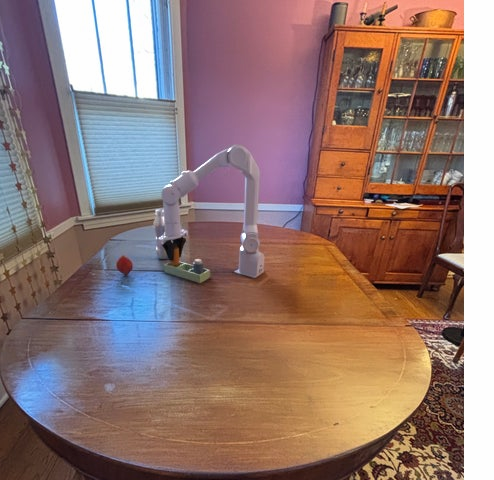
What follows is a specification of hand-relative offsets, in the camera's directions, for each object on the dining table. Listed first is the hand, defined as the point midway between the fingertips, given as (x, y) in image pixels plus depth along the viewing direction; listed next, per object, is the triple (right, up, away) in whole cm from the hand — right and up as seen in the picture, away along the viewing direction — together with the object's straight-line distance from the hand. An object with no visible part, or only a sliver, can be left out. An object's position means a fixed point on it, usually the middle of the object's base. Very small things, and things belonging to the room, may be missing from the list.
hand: (174, 258), depth 113 cm
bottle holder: (+5, -7, 0) cm, 8 cm away
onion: (-18, -6, 0) cm, 20 cm away
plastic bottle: (-7, +3, +16) cm, 18 cm away
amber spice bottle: (0, -2, +1) cm, 2 cm away
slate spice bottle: (+9, -8, -2) cm, 12 cm away
